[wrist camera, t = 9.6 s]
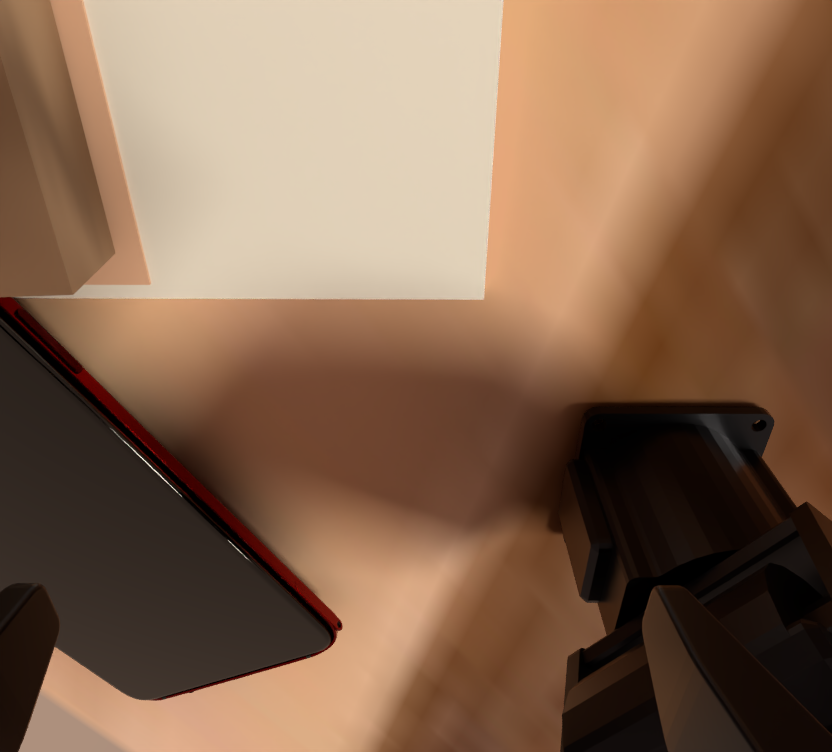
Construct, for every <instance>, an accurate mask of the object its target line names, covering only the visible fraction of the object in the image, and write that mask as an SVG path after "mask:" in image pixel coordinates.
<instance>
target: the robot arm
mask: <svg viewBox="0 0 832 752" xmlns="http://www.w3.org/2000/svg"><path fill="white" fill-rule="evenodd" d="M599 419H602V420H603V421H602V422H601V423H599V424H593V422H594V421H596V420H599ZM757 420H760V422H758V423H757V424H753V423H754V422H756V421H757ZM752 424H753V425H752ZM773 426H774V420H773V418H772V416H771V415H770V414H769V412H768V411H767V410H765V409H764V408H760V407H593V408H591V409H589V410H587V411H586V412H585V413H584V415H583V417H582V422H581V428H580V433H579V439H578V445H577V450H576V456H575V459H572V460H570V461H569V463H568V464H567V465H566V468H565V474H564V480H563V486H562V492H561V498H560V504H559V510H558V515H559V519H560V523H561V526H562V532H563V537H564V541H565V543H566V546H567V550H568V553H569V557H570V561H571V565H572V569H573V573H574V577H575V580H576V584H577V588H578V592H579V596H580V597H581V598H582V599H583V600H584V601H585V602H587V603H598V606H599V610H600V613H601V617H602V620H603V624H604V627H605V631H606V634H607V636H605V637H604V638H602V639H600V640H599V641H597V642H596V643H594V644H593V645H591V646H590V647H588V648H587V649H584V648H581V649H579V650H577V651H576V652H574V653H573V654H571V655H570V656H568V660H567V673H566V686H565V699H564V710H563V713H562V737H561V750H560V752H832V521H831V520H829V519H828V518H827V517H826V516H824V515H823V514H822V513H821V512H820V511H818V510H817V509H816V508H815V507H813V506H812V505H811V504H810V503H808V502H805V503H803V504H802V505H800V506H799V507H796V505H795V504H794V502H793V501H792V500H791V498H790V497H789V495H788V494H787V492H786V491H785V490H784V488H783V487H782V485H781V484H780V483H779V481H778V480H777V478H776V477H775V475H774V474H773V473H772V471H771V470H770V468H769V467H768V466H767V464H766V463H765V461H764V460H763V458H762V455H763V452H764V450H765V447H766V445H767V442H768V439H769V437H770V434H771V431H772V429H773ZM59 630H60V619H59V616H58V613H57V611H56V609H55V607H54V605H53V603H52V601H51V598H50V596H49V594H48V592H47V590H46V588H45V587H44V586H43V585H42V584H39V583H15V584H12V585H10V586H8V587H6V588H5V589H3V590H2V591H1V592H0V752H18V751H19V749H20V746H21V744H22V741H23V739H24V736H25V733H26V731H27V728H28V725H29V722H30V720H31V717H32V714H33V710H34V707H35V704H36V701H37V698H38V695H39V692H40V689H41V686H42V683H43V680H44V677H45V674H46V671H47V668H48V665H49V662H50V659H51V656H52V653H53V650H54V647H55V644H56V641H57V638H58V635H59Z"/></svg>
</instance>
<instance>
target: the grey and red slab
mask: <svg viewBox="0 0 832 752" xmlns="http://www.w3.org/2000/svg"><path fill="white" fill-rule="evenodd" d="M15 583H39V584H42V585H43V586H44V587H45V588H46V590H47V592H48V594H49V596H50V598H51V601H52V603H53V605H54V607H55V609H56V611H57V613H58V616H59V619H60V630H59V635H58V638H57V641H56V644H55V647H56V648H58V649H59V650H60V651H62V652H63V653H65V654H66V655H68V656H69V657H71V658H72V659H74V660H75V661H77V662H78V663H80V664H81V665H82V666H84V667H85V668H87V669H88V670H90V671H91V672H93V673H94V674H96V675H97V676H99V677H100V678H102V679H103V680H104V681H106V682H107V683H109V684H110V685H112V686H113V687H115V688H116V689H118V690H119V691H121V692H122V693H124V694H126V695H128V696H130V697H132V698H135V699H139V700H163V699H167V698H171V697H175V696H178V695H182V694H185V693H192V692H194V691H196V690H199V689H203V688H206V687H210V686H213V685H217V684H220V683H224V682H227V681H231V680H235V679H238V678H242V677H245V676H249V675H252V674H255V673H259V672H262V671H266V670H269V669H273V668H276V667H280V666H283V665H287V664H290V663H293V662H297V661H300V660H304V659H307V658H310V657H313V656H316V655H318V654H320V653H322V652H324V651H325V650H327V649H328V648H330V647H331V646H332V645H333V644H334V642H335V640H336V638H337V633H338V631H340V630H342V623H341V621H340V619H339V618H337V616H336V615H335V614H334V613H333V612H332V611H331V610H330V609H329V608H328V607H327V606H326V605H325V604H324V603H323V602H322V601H321V600H320V599H319V598H318V597H317V596H316V595H315V594H314V593H313V592H312V591H311V590H310V589H309V588H308V587H307V586H306V585H305V584H303V583H302V582H301V581H300V580H299V579H298V578H297V577H296V576H295V575H294V574H293V573H292V572H291V571H290V570H289V569H288V568H287V567H286V566H285V565H284V564H283V563H282V562H281V561H280V560H279V559H278V558H277V557H276V556H275V555H274V554H273V553H272V552H271V551H270V550H269V549H268V548H267V547H266V546H265V545H264V544H263V543H261V542H260V541H259V540H258V539H257V538H256V537H255V536H254V535H253V534H252V533H251V532H250V531H249V530H248V529H247V528H246V527H245V526H244V525H243V524H242V523H241V522H240V521H239V520H238V519H237V518H236V517H235V516H234V515H233V514H232V513H231V512H230V511H229V510H228V509H227V508H226V507H225V506H224V505H223V504H222V503H221V502H220V501H218V500H217V499H216V498H215V497H214V496H213V495H212V494H211V493H210V492H209V491H208V490H207V489H206V488H205V487H204V486H203V485H202V484H201V483H200V482H199V481H198V480H197V479H196V478H195V477H194V476H193V475H192V474H191V473H190V472H189V471H188V470H187V469H186V468H185V467H184V466H183V465H182V464H181V463H180V462H179V461H178V460H177V459H175V458H174V457H173V456H172V455H171V454H170V453H169V452H168V451H167V450H166V449H165V448H164V447H163V446H162V445H161V444H160V443H159V442H158V441H157V440H156V439H155V438H154V437H153V436H152V435H151V434H150V433H149V432H148V431H147V430H146V429H145V428H144V427H143V426H142V425H141V424H140V423H139V422H138V421H137V420H136V419H135V418H134V417H133V416H132V415H131V414H130V413H129V412H128V411H127V410H126V409H125V408H124V407H123V406H122V405H121V404H120V403H118V402H117V401H116V400H115V399H114V398H113V397H112V396H111V395H110V394H109V393H108V392H107V391H106V390H105V389H104V388H103V387H102V386H101V385H100V384H99V383H98V382H97V381H96V380H95V379H94V378H93V377H92V376H91V375H90V374H89V373H88V372H87V371H86V370H85V369H84V368H83V367H82V365H81V364H80V363H79V362H78V361H77V360H76V359H75V358H74V357H73V356H71V355H70V354H69V353H68V352H67V351H66V350H65V349H64V348H63V347H62V346H61V345H60V344H59V343H58V342H57V341H56V340H55V339H54V338H53V337H52V336H51V335H50V334H49V333H48V332H47V331H46V330H45V329H44V328H43V327H42V326H41V325H40V324H39V323H38V322H37V321H36V320H35V319H34V318H33V317H32V316H31V315H30V314H29V313H28V312H27V311H26V310H25V309H23V308H22V307H21V306H20V305H19V304H18V303H17V302H16V301H15V300H14V299H13V298H12V297H0V592H1V591H2V590H3V589H5V588H6V587H8V586H10V585H12V584H15Z"/></svg>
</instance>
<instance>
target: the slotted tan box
mask: <svg viewBox="0 0 832 752" xmlns="http://www.w3.org/2000/svg"><path fill="white" fill-rule="evenodd" d="M114 254H115V249H114V245H113V241H112V238H111V234H110V230H109V226H108V222H107V218H106V214H105V211H104V207H103V203H102V199H101V195H100V191H99V187H98V184H97V180H96V176H95V172H94V168H93V164H92V160H91V157H90V153H89V149H88V145H87V141H86V137H85V133H84V130H83V126H82V122H81V118H80V114H79V110H78V106H77V103H76V99H75V95H74V91H73V87H72V83H71V79H70V76H69V72H68V68H67V64H66V60H65V56H64V52H63V49H62V45H61V41H60V37H59V33H58V29H57V25H56V21H55V18H54V14H53V10H52V6H51V2H50V0H0V297H23V296H54V295H74V294H75V293H76V292H77V291H78V290H79V289H80V288H81V287H82V286H83V285H84V284H85V283H86V282H87V281H88V280H89V279H90V278H91V277H92V276H93V275H94V274H95V273H96V272H97V271H98V270H99V269H100V268H101V267H102V266H103V265H104V264H105V263H106V262H107V261H108V260H109V259H110V258H111V257H112V256H113V255H114Z"/></svg>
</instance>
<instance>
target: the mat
mask: <svg viewBox="0 0 832 752" xmlns="http://www.w3.org/2000/svg"><path fill="white" fill-rule="evenodd" d="M50 2H51V6H52V10H53V14H54V18H55V21H56V25H57V29H58V33H59V37H60V41H61V45H62V49H63V52H64V56H65V60H66V64H67V68H68V72H69V76H70V79H71V83H72V87H73V91H74V95H75V99H76V103H77V106H78V110H79V114H80V118H81V122H82V126H83V130H84V133H85V137H86V141H87V145H88V149H89V153H90V157H91V160H92V164H93V168H94V172H95V176H96V180H97V184H98V187H99V191H100V195H101V199H102V203H103V207H104V211H105V214H106V218H107V222H108V226H109V230H110V234H111V238H112V241H113V245H114V249H115V254H114V255H113V256H112V257H111V258H110V259H109V260H108V261H107V262H106V263H105V264H104V265H103V266H102V267H101V268H100V269H99V270H98V271H97V272H96V273H95V274H94V275H93V276H92V277H91V278H90V279H89V280H88V281H87V282H86V283H85V284H84V285H83V286H82V287H81V288H80V289H79V290H78V291H77V292H76V293H75V294H74V295H54V296H23V297H12V298H93V299H447V300H484V290H485V275H486V259H487V244H488V229H489V214H490V198H491V183H492V168H493V153H494V137H495V122H496V107H497V92H498V76H499V61H500V46H501V31H502V15H503V0H50Z"/></svg>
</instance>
